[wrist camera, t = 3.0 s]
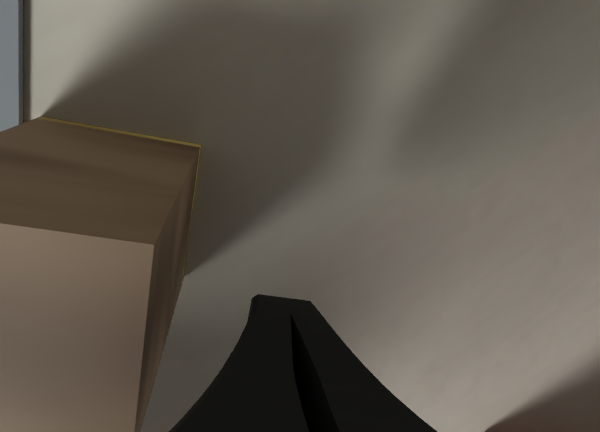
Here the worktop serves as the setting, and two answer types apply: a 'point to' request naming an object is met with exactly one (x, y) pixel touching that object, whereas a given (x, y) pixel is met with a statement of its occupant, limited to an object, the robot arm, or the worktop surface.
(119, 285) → the brown wooden block
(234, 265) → the worktop surface
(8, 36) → the grey mat
